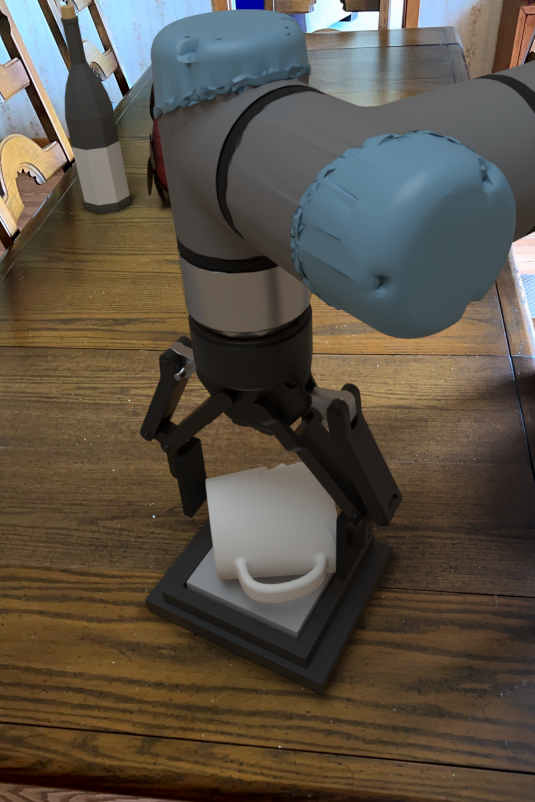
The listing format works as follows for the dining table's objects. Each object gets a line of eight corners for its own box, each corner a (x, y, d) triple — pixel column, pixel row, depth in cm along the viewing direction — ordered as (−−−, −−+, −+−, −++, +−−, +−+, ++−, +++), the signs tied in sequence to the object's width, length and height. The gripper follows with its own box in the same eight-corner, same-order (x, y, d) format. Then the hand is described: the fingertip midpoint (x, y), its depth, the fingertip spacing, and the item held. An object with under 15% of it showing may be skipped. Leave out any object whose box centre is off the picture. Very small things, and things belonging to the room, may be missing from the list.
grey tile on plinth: (351, 549, 61) (351, 537, 60) (297, 643, 54) (297, 632, 53) (249, 509, 65) (248, 498, 64) (188, 593, 58) (186, 581, 57)
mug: (212, 516, 62) (201, 450, 57) (317, 501, 63) (316, 434, 58) (225, 638, 53) (214, 572, 48) (348, 618, 54) (351, 551, 49)
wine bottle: (123, 214, 118) (83, 11, 99) (77, 213, 119) (28, 13, 100) (138, 193, 124) (103, -1, 105) (94, 193, 125) (51, 0, 106)
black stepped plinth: (392, 558, 62) (394, 536, 60) (322, 695, 53) (321, 674, 51) (234, 497, 68) (231, 475, 67) (147, 610, 59) (141, 589, 57)
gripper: (473, 320, 40) (437, 556, 54) (123, 239, 50) (167, 455, 64) (429, 398, 35) (401, 636, 49) (50, 291, 45) (114, 513, 59)
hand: (268, 534), depth 56 cm, fingers open, 13 cm apart
